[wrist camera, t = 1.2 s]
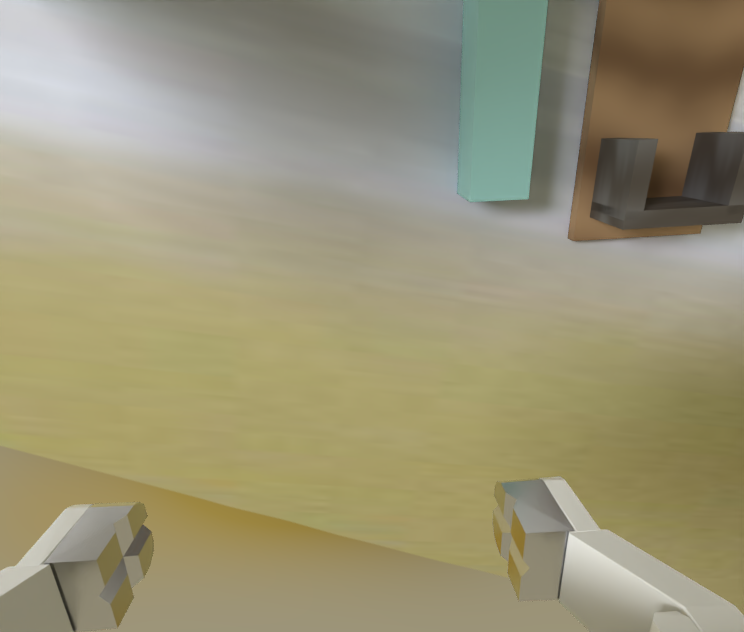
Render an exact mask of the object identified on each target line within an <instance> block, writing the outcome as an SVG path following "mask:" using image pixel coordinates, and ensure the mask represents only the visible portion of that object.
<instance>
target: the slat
mask: <svg viewBox="0 0 744 632" xmlns="http://www.w3.org/2000/svg"><path fill="white" fill-rule="evenodd" d="M547 8H548V0H463V30H462V61H461V92H460V123H459V155H458V186H457V194H459V195H460V196H462V197H463V198H465V199H466V200H467V201H469V202H483V201H502V200H521V199H529V190H530V180H531V170H532V159H533V149H534V139H535V129H536V119H537V109H538V99H539V89H540V78H541V68H542V58H543V48H544V38H545V28H546V18H547Z"/></svg>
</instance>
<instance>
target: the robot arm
mask: <svg viewBox="0 0 744 632" xmlns="http://www.w3.org/2000/svg"><path fill="white" fill-rule="evenodd" d="M494 496H495V499H496V501H497V503H498V506H497V507H496V508H495V509H494V511H493V530H494V537H495V541H496V544H497V547H498V550H499V553H500V555H501V556H502V557H503V558H504V559H506V560H507V561H508V572H507V573H508V576H509V578H510V581H511V583H512V586H513V588H514V591H515V593H516V596H517V598H518V600H519V601H540V600H541V601H542V600H559V603H560V604H561V605H562V606H563V607H564V608H565V609H566V610H568V611H569V612H570V613H571V614H572V615H573V616H574V617H575V618H576V619H577V620H578V621H579V622H580V623H581V624H582V625H583V626H584V627H585V628H586V629H587V630H588V631H589V632H744V615H743V614H742V613H741V612H740V611H739V610H738V609H737V608H736V606H735V605H733V604H731V603H730V602H728V601H726V600H725V599H723V598H721V597H720V596H718V595H716V594H715V593H713V592H711V591H710V590H708V589H706V588H705V587H703V586H701V585H700V584H698V583H696V582H695V581H693V580H691V579H689V578H688V577H686V576H684V575H683V574H681V573H679V572H678V571H676V570H674V569H673V568H671V567H669V566H668V565H666V564H664V563H663V562H661V561H659V560H658V559H656V558H654V557H653V556H651V555H649V554H648V553H646V552H644V551H643V550H641V549H639V548H638V547H636V546H634V545H632V544H631V543H629V542H627V541H626V540H624V539H622V538H621V537H619V536H617V535H616V534H614V533H612V532H611V531H609V530H601V529H600V528H599V527H598V525H597V524H596V522H595V521H594V520H593V518H592V517H591V516H590V514H589V513H588V511H587V510H586V509H585V507H584V506H583V504H582V503H581V502H580V500H579V499H578V497H577V496H576V495H575V493H574V492H573V490H572V489H571V488H570V486H569V485H568V483H567V482H566V481H565V479H563V478H562V477H547V478H539V479H526V480H510V481H497V482H496V485H495V492H494ZM146 518H147V513H146V509H145V506H144V504H142V503H140V502H127V503H100V504H99V503H97V504H82V505H72V506H70V507H68V508H66V509H65V510H64V511H63V512H62V513H61V515H60V516H59V517H58V518H57V519H56V520H55V521H54V523H53V524H52V525H51V526H50V527H49V528H48V530H47V531H46V532H45V533H44V534H43V535H42V536H41V538H40V539H39V540H38V541H37V542H36V543H35V544H34V546H33V547H32V548H31V549H30V550H29V551H28V552H27V553H26V555H25V556H24V557H23V558H22V559H21V560H20V562H19V563H18V564H17V565H16V566H13V567H7V568H5V569H3V570H2V571H0V632H85V631H96V630H106V629H116V628H118V627H119V625H120V623H121V621H122V619H123V617H124V615H125V613H126V612H127V610H128V608H129V606H130V604H131V602H132V600H133V598H134V596H133V592H132V587H134V586H135V585H136V584H137V583H139V582H140V581H141V580H142V579H143V578H144V577H145V575H146V573H147V571H148V569H149V567H150V564H151V560H152V556H153V551H154V543H153V536H152V532H151V531H150V530H149V529H148V528H146V527H145V526H144V525H143V523H144V521H145V519H146Z"/></svg>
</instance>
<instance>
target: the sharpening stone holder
mask: <svg viewBox="0 0 744 632" xmlns="http://www.w3.org/2000/svg"><path fill="white" fill-rule="evenodd" d="M743 67H744V0H599V7H598V15H597V22H596V30H595V37H594V45H593V52H592V60H591V67H590V75H589V82H588V90H587V97H586V105H585V112H584V120H583V127H582V135H581V142H580V150H579V157H578V165H577V172H576V180H575V187H574V195H573V202H572V210H571V217H570V225H569V232H568V238H569V239H571V240H573V241H581V240H598V239H614V238H631V237H648V236H665V235H681V234H698V233H701V229H702V225H711V224H727V223H741V222H742V219H743V215H744V132H727V129H728V125H729V121H730V117H731V113H732V110H733V106H734V102H735V98H736V94H737V90H738V86H739V83H740V79H741V75H742V71H743Z"/></svg>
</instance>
